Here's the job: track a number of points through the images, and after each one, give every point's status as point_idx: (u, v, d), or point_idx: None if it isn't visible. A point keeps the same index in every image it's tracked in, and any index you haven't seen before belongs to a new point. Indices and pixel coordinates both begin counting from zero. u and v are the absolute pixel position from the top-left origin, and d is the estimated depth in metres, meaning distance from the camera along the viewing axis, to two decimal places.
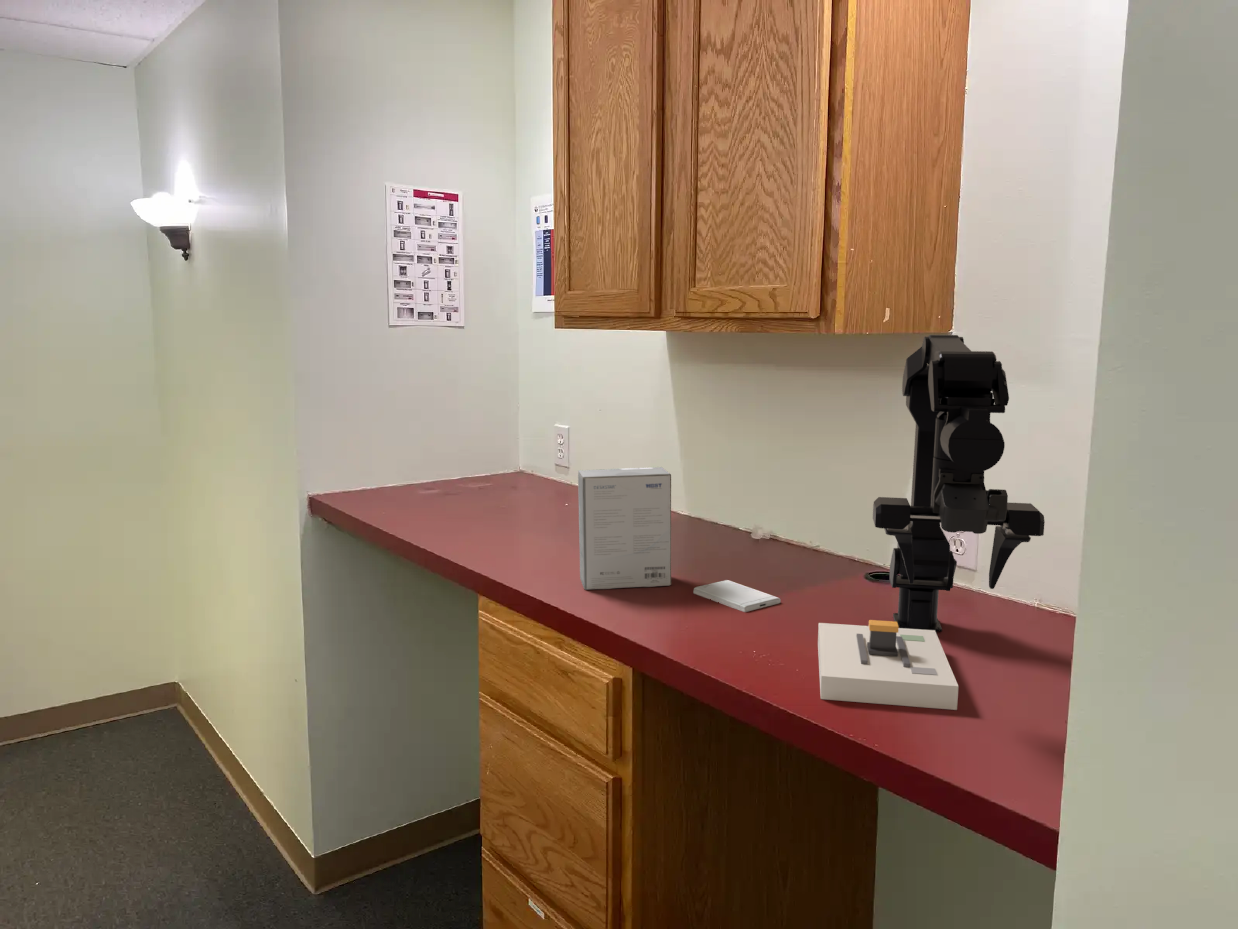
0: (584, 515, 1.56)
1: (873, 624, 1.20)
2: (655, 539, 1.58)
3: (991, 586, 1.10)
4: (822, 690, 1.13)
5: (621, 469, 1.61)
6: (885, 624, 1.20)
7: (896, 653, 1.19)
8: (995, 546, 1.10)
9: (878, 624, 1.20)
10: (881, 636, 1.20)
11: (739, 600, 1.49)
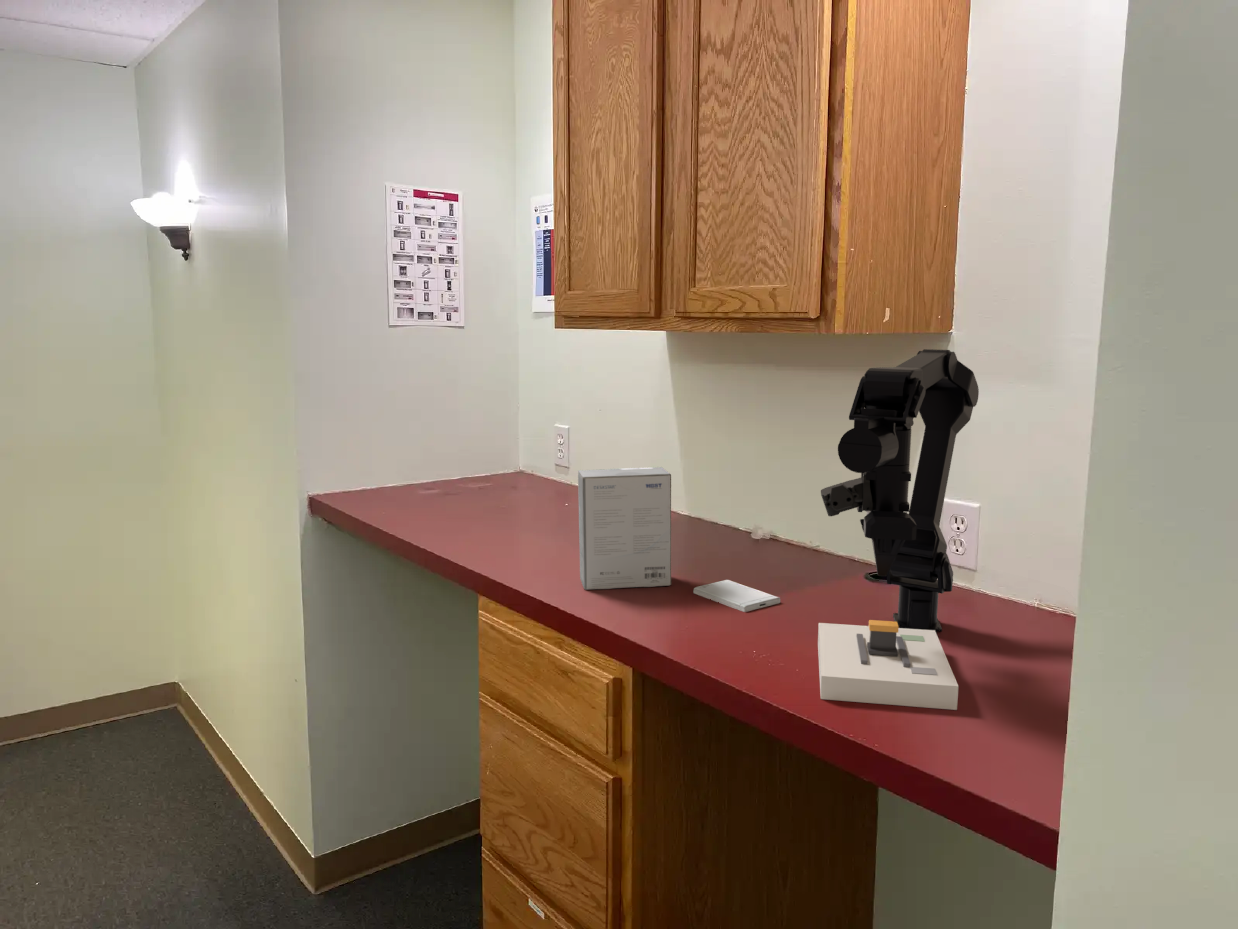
0: (584, 515, 1.56)
1: (873, 624, 1.20)
2: (655, 539, 1.58)
3: None
4: (822, 690, 1.13)
5: (621, 469, 1.61)
6: (885, 624, 1.20)
7: (896, 653, 1.19)
8: None
9: (878, 624, 1.20)
10: (881, 636, 1.20)
11: (738, 600, 1.49)
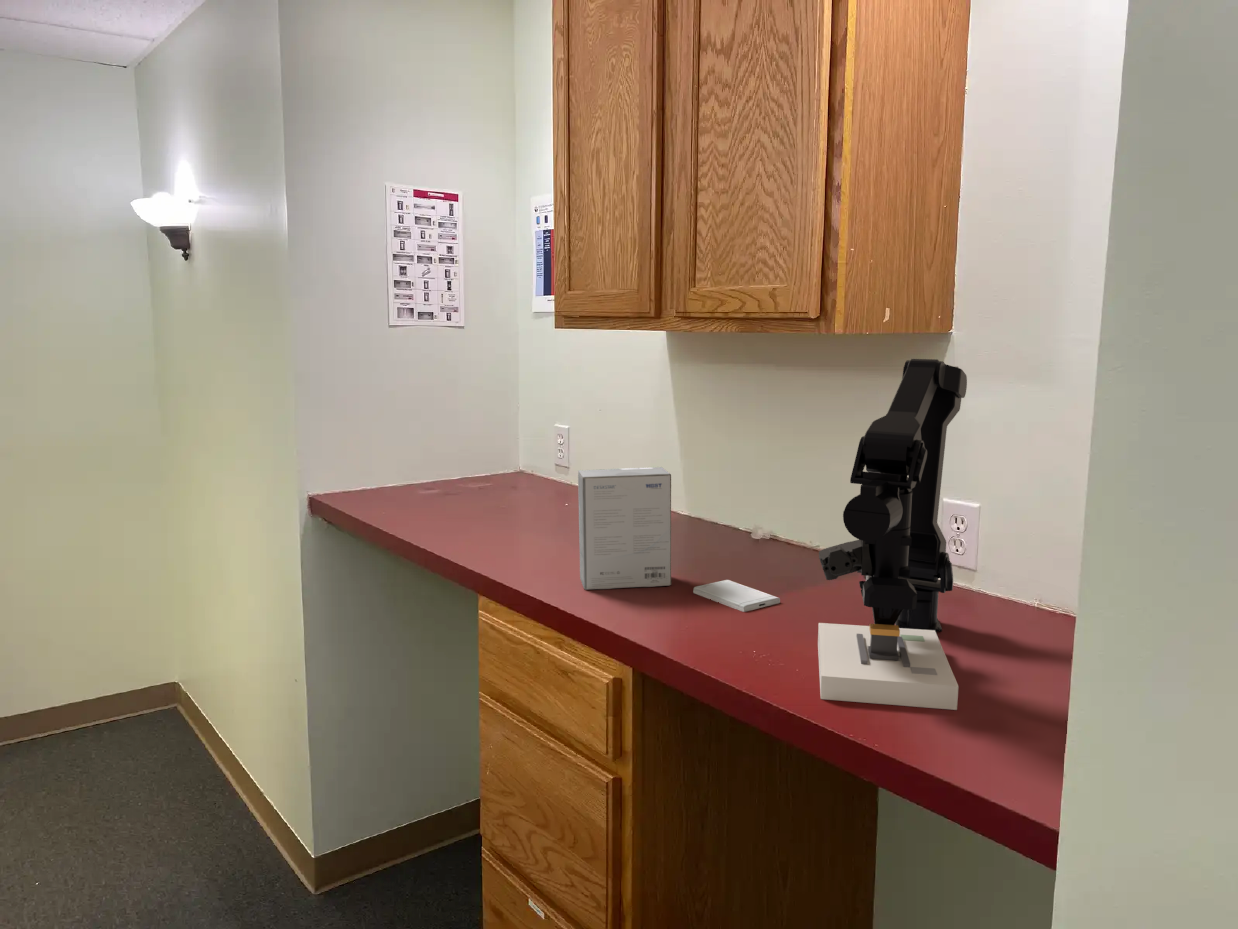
0: (584, 515, 1.56)
1: (874, 628, 1.18)
2: (655, 539, 1.58)
3: None
4: (822, 690, 1.13)
5: (621, 469, 1.61)
6: (886, 628, 1.19)
7: (897, 657, 1.18)
8: None
9: (879, 628, 1.19)
10: (882, 640, 1.19)
11: (738, 600, 1.49)
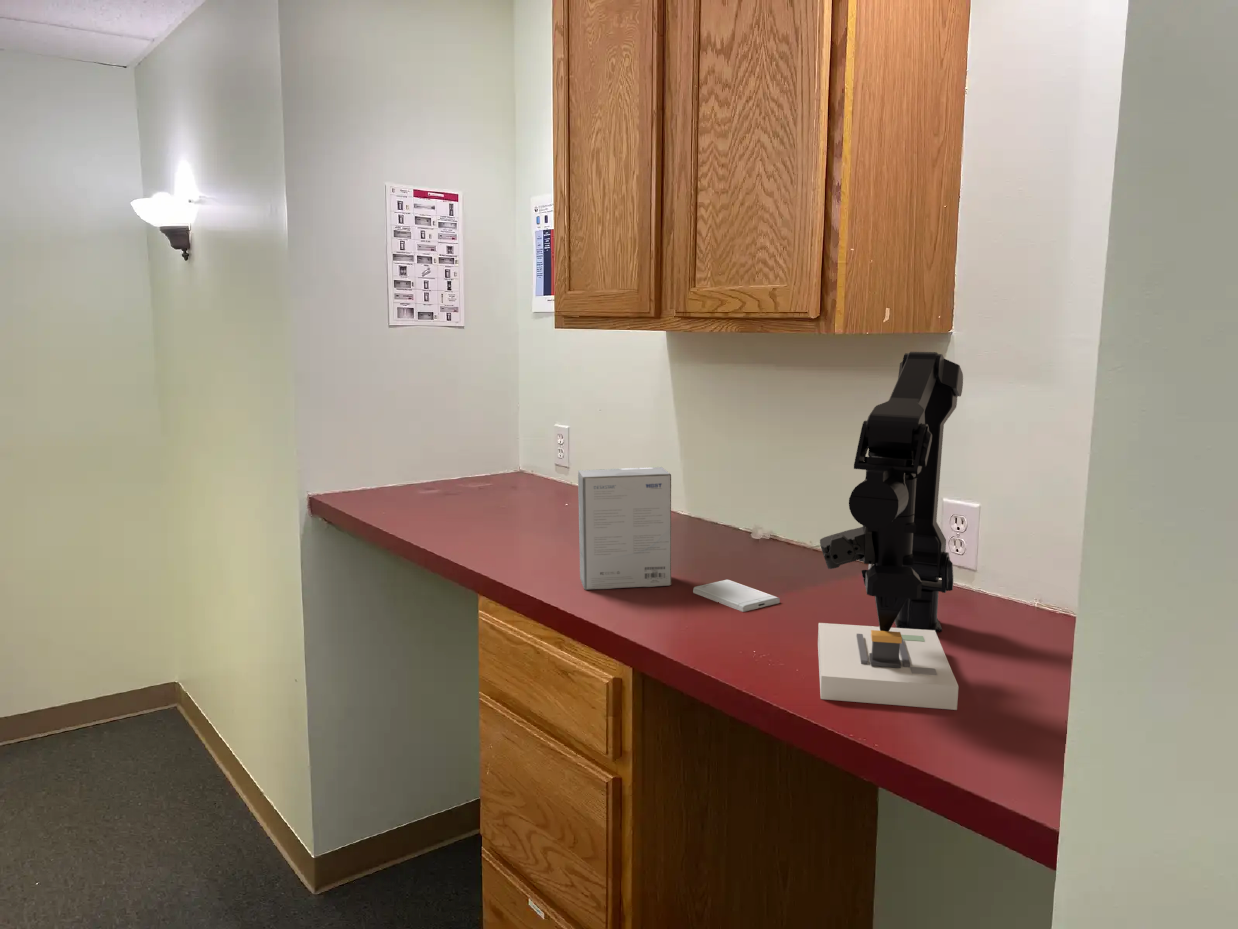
0: (584, 515, 1.56)
1: (876, 635, 1.16)
2: (655, 539, 1.58)
3: None
4: (822, 690, 1.13)
5: (621, 469, 1.61)
6: (888, 635, 1.16)
7: (899, 665, 1.15)
8: None
9: (881, 635, 1.16)
10: (884, 647, 1.16)
11: (737, 599, 1.49)
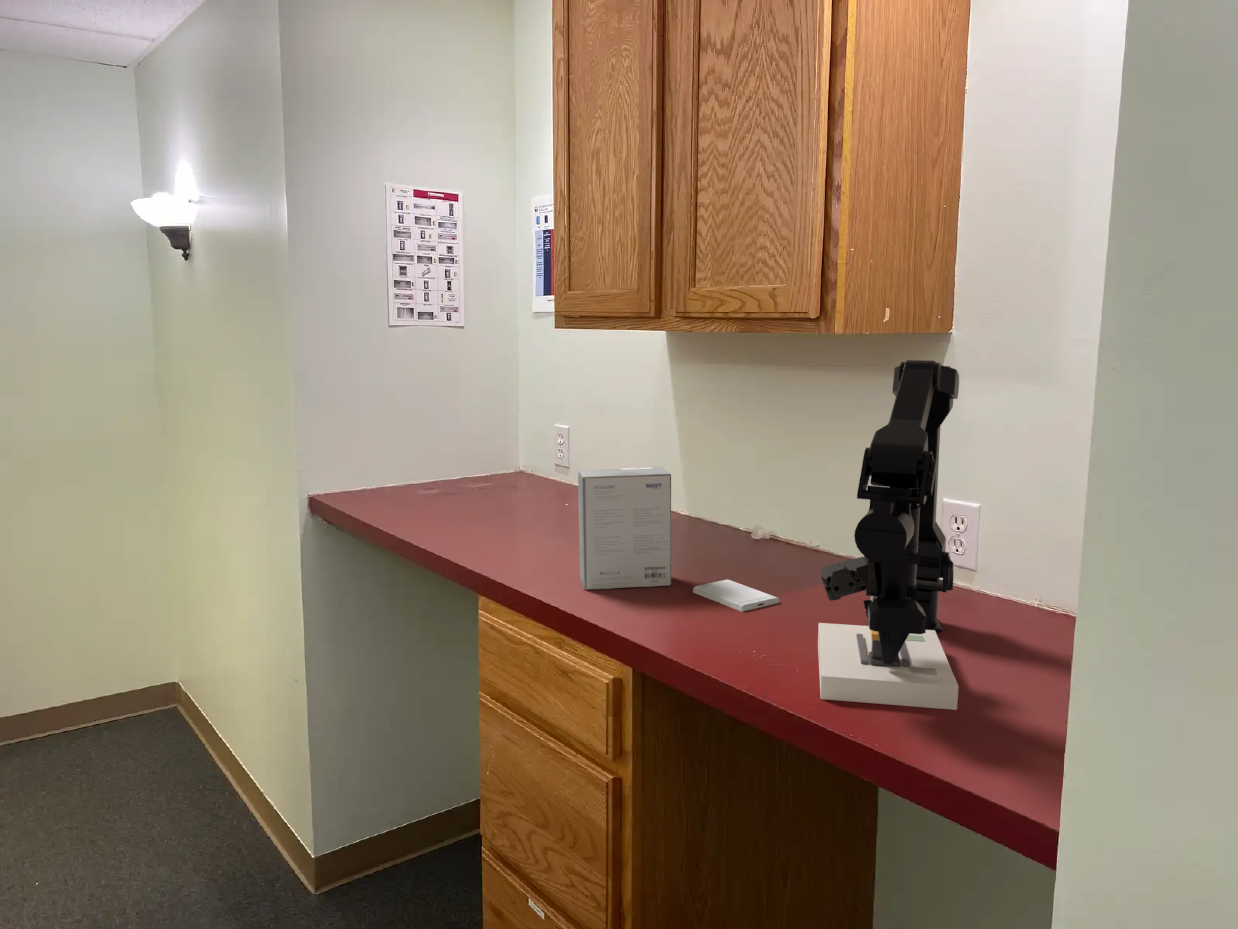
0: (584, 515, 1.56)
1: (876, 634, 1.16)
2: (655, 539, 1.58)
3: (882, 660, 1.15)
4: (822, 690, 1.13)
5: (621, 469, 1.61)
6: None
7: (899, 663, 1.16)
8: None
9: None
10: None
11: (737, 599, 1.49)
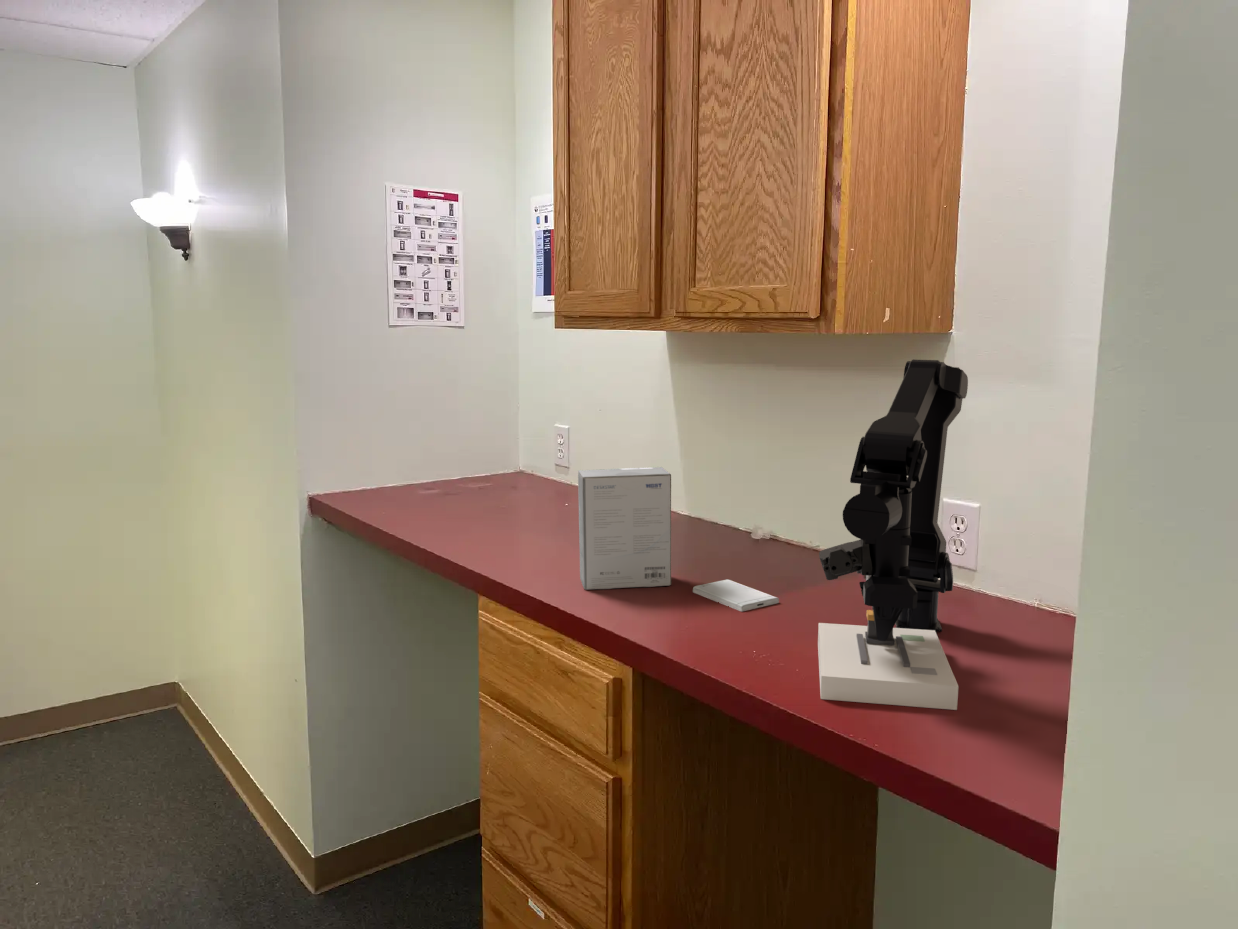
0: (584, 515, 1.56)
1: (871, 614, 1.24)
2: (655, 539, 1.58)
3: (877, 637, 1.22)
4: (822, 690, 1.13)
5: (621, 469, 1.61)
6: None
7: (893, 642, 1.23)
8: None
9: None
10: None
11: (736, 599, 1.49)
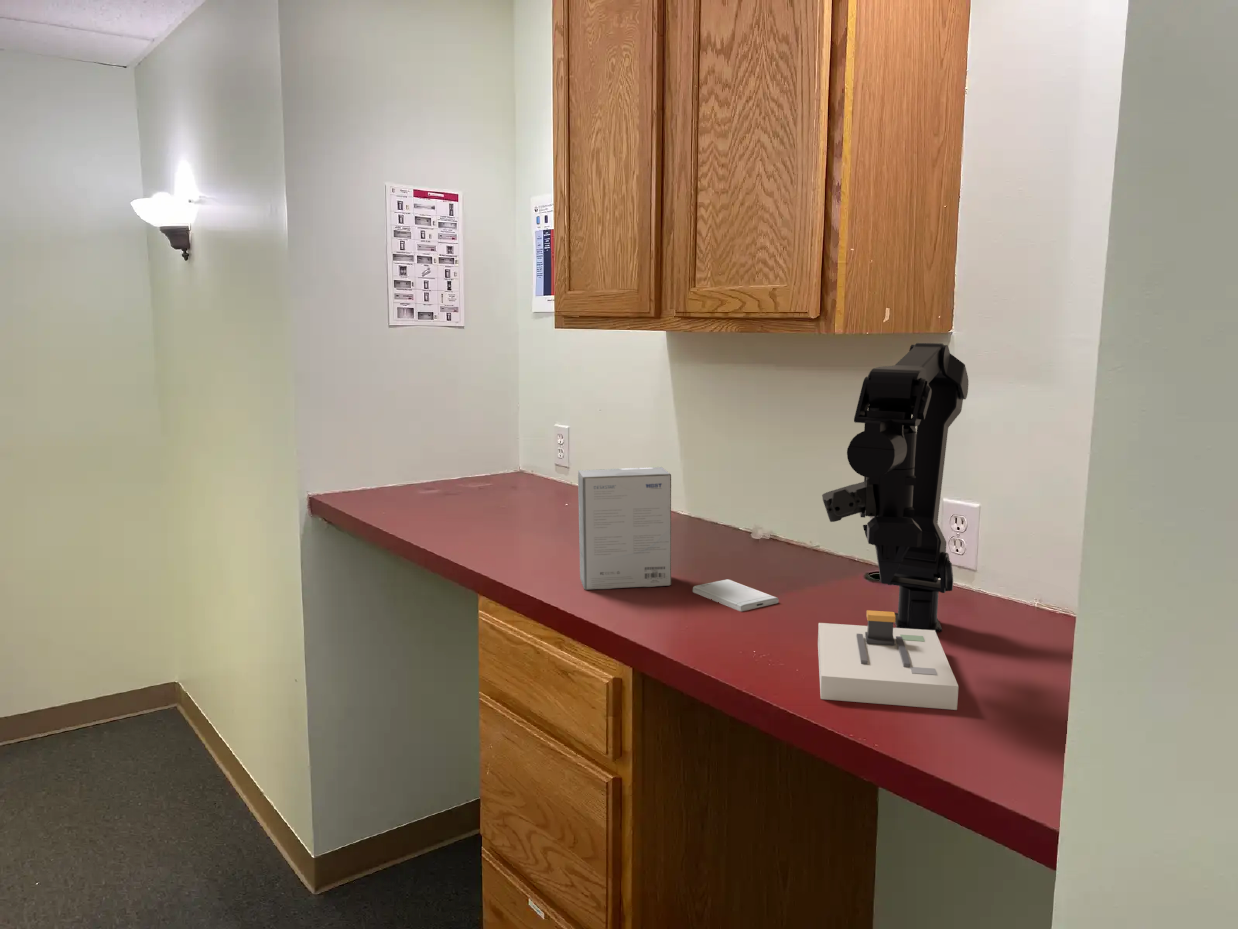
0: (584, 515, 1.56)
1: (871, 614, 1.24)
2: (655, 539, 1.58)
3: (881, 580, 1.21)
4: (822, 690, 1.13)
5: (621, 469, 1.61)
6: (882, 614, 1.24)
7: (893, 642, 1.23)
8: None
9: (876, 614, 1.24)
10: (879, 625, 1.24)
11: (736, 599, 1.49)
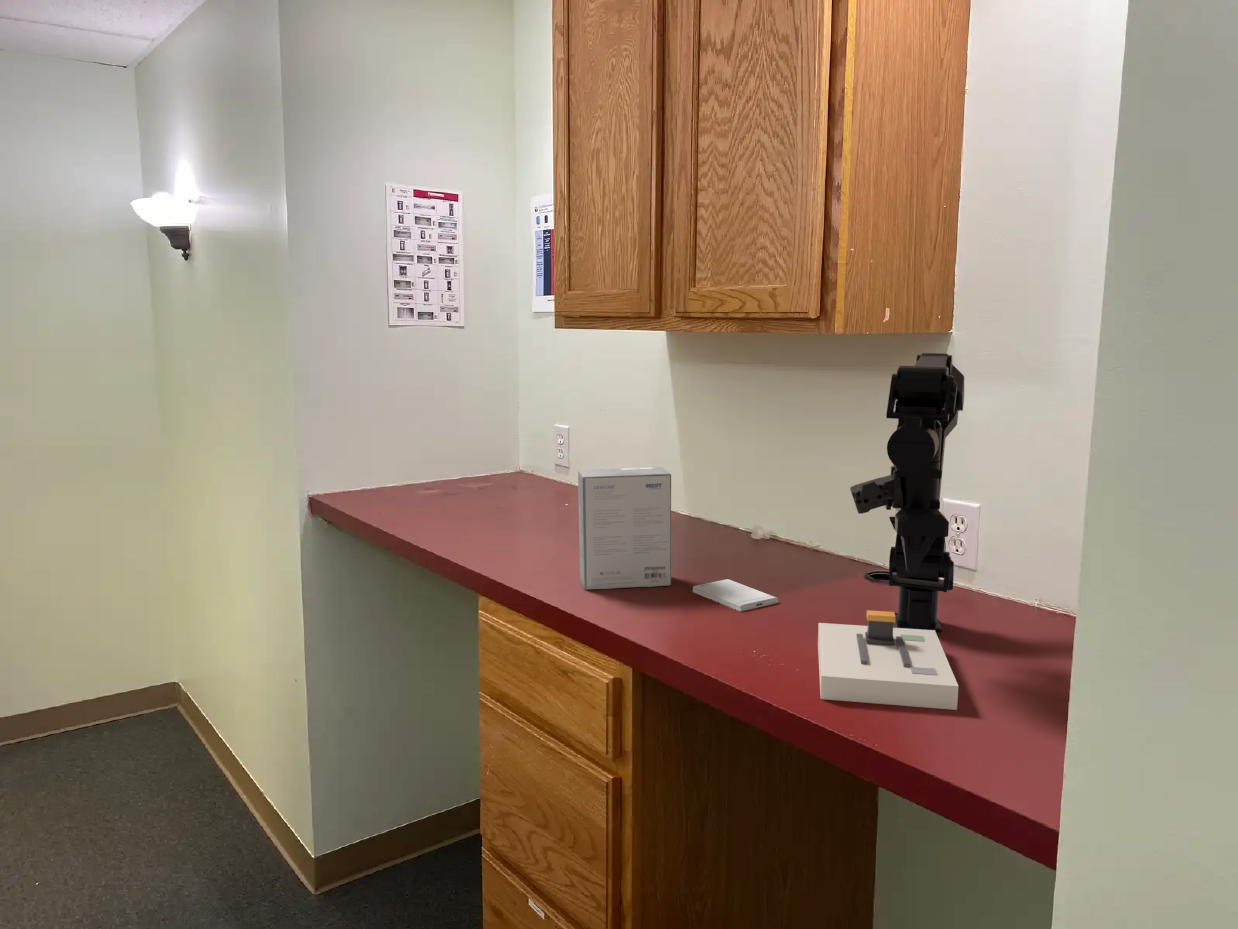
0: (584, 515, 1.56)
1: (871, 614, 1.24)
2: (655, 539, 1.58)
3: (907, 570, 1.26)
4: (822, 690, 1.13)
5: (621, 469, 1.61)
6: (882, 614, 1.24)
7: (893, 642, 1.23)
8: None
9: (876, 614, 1.24)
10: (879, 625, 1.24)
11: (735, 599, 1.50)
